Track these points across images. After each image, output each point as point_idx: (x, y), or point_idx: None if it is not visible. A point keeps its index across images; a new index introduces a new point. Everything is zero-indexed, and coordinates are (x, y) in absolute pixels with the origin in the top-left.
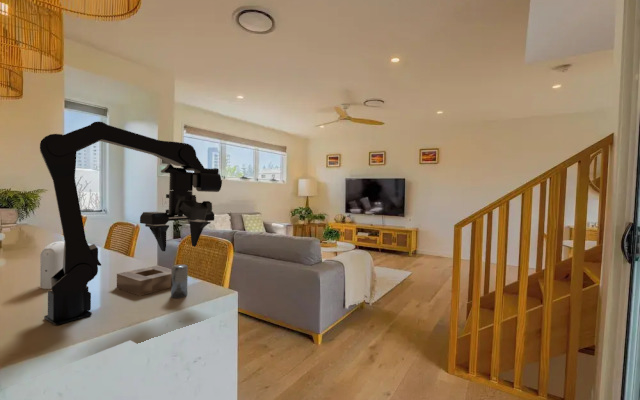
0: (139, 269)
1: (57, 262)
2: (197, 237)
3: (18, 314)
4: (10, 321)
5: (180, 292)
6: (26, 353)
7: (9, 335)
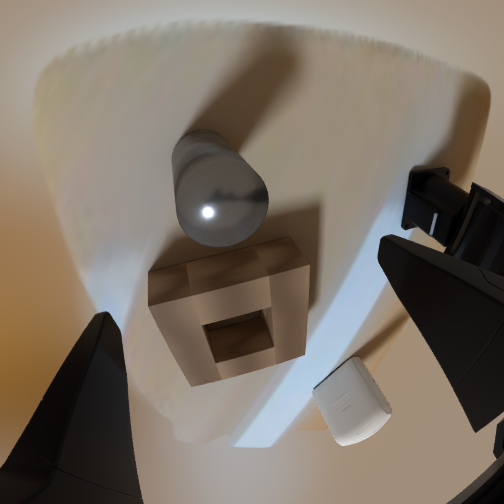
0: (246, 371)
1: (368, 395)
2: (74, 375)
3: None
4: None
5: (213, 134)
6: (482, 100)
7: (469, 181)
